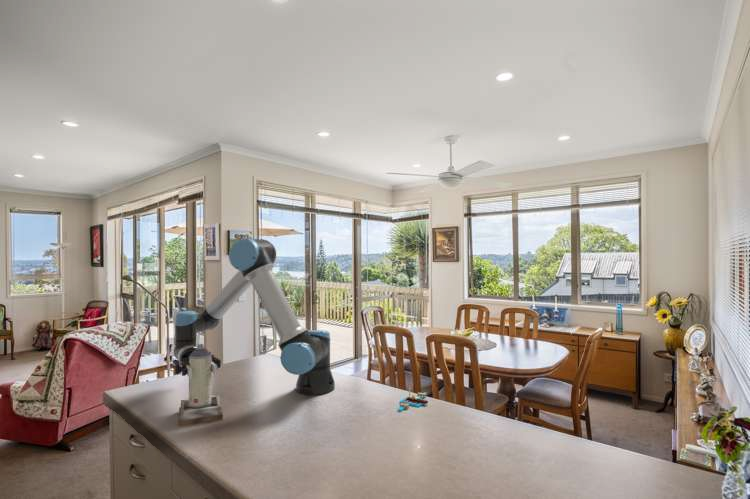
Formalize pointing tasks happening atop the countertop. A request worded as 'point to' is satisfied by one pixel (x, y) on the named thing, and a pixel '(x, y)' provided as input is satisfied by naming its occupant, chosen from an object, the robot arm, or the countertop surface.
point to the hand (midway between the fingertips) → (203, 372)
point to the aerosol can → (200, 378)
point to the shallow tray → (200, 412)
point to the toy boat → (413, 399)
